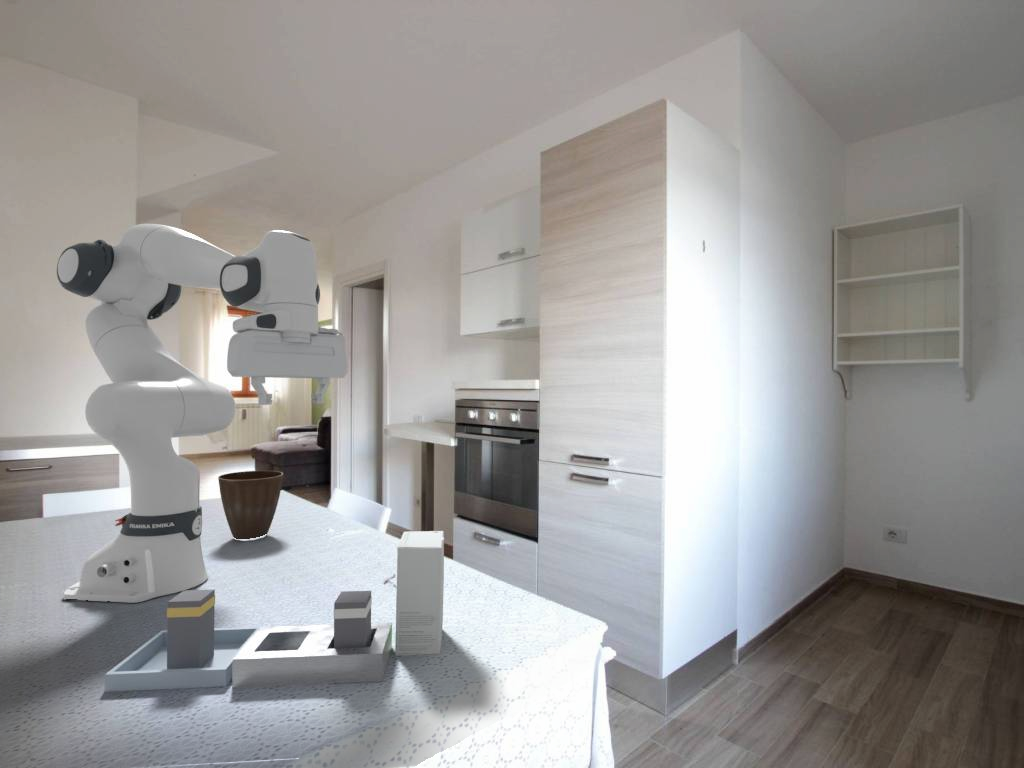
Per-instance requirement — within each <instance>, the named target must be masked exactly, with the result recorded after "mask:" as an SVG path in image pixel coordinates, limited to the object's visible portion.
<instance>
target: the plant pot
mask: <svg viewBox="0 0 1024 768" xmlns="http://www.w3.org/2000/svg"><path fill="white" fill-rule="evenodd" d="M283 478H284V473H283V471H282V472H281V471H277V470H247V471H246V470H245V471H235V472H229V473H225V474H221V475H219V476H218V478H217V479H218V486H219V494H220V498H221V499H220V500H221V504H222V507H223V511H224V515H225V518H226V522H227V525H228V527H229V530H230V532H231V535H232V537H234V538H236V539H250V538H256V537H260V536H263V535H265V534H267V535H268V533H269V530H270V528H271V525H272V522H273V519H274V516H275V514H276V511H277V507H278V505H279V504H278V503H279V499H280V496H281V490H282V485H283ZM234 538H233V539H234Z"/></svg>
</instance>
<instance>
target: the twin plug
mask: <svg viewBox="0 0 1024 768" xmlns="http://www.w3.org/2000/svg"><path fill="white" fill-rule="evenodd" d="M372 596H373V595H372V590H356V591H355V590H353V591H352V590H349V591H348V590H345V591H340V593H339V595H338V596H337V597H336V600H335V601H334V603H333V606H334V607H333V625H334V648H359V647H370V646H371V623H372V604H373V603H372V601H373V600H372V599H373V597H372Z"/></svg>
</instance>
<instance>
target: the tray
mask: <svg viewBox="0 0 1024 768" xmlns="http://www.w3.org/2000/svg"><path fill="white" fill-rule="evenodd" d="M261 627H262V626H246V627H245V626H244V627H243V626H242V627H218V628H216V627H214V656H213V657H212V658H211V659H210V660H209V661H208V662H207V663H206V664H205V665H204V666H203V667H202V668H189V669H167V629H165V630H160V631H159V632H158V633H157V634H155V635H154V636H153V637H151V638H150V639H149V640H147V641H146V642H145V643H143V644H142V645H141V646H140V647H138V648H137V649H136V650H135V651H133V652H132V653H131V654H129V655H128V656H127V657H125V658H124V659H123V660H122V661H120V662H119V663H118V664H117V665H115V666H114V667H112V669H110V670H108V672H106V673H105V674H104V692H109V693H110V692H126V691H127V692H128V691H146V690H147V691H149V690H151V691H153V690H167V689H168V690H169V689H188V688H189V689H192V688H194V689H195V688H211V687H213V688H214V687H226V686H227V685H228V684H229V683H230V682H231V680H232V667H233V658H234V657H235V656H236V655H237V654H238V653H239V652H240V650H241V649H242V648H243V647H244V646H245V645H246V644H247V643H248V641H249V640H250V639H251V638H252V637H253V636H254V635H255V633H256V632H257V631H258V630H259V629H260V628H261Z"/></svg>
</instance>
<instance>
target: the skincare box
mask: <svg viewBox="0 0 1024 768" xmlns="http://www.w3.org/2000/svg"><path fill="white" fill-rule="evenodd" d="M444 534H445V531H443V530H429V531H428V530H427V531H426V530H425V531H424V530H422V531H419V530H418V531H416V530H415V531H411V530H410V531H403V533H402V535H401V537H400V540H399V542H398V545H397V559H396V561H397V563H396V564H397V565H396V595H395V596H396V599H395V600H396V601H395V602H396V604H395V607H396V608H395V609H396V610H395V642H394V643H395V644H394V645H395V648H394V649H395V650H394V652H395V653H394V655H395V656H412V655H413V656H415V655H416V656H417V655H434V654H435V655H436V654H440V653H441V649H442V639H443V623H444V622H443V620H444V584H445V583H444V581H445V576H444V575H445V571H444V570H445V537H444Z"/></svg>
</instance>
